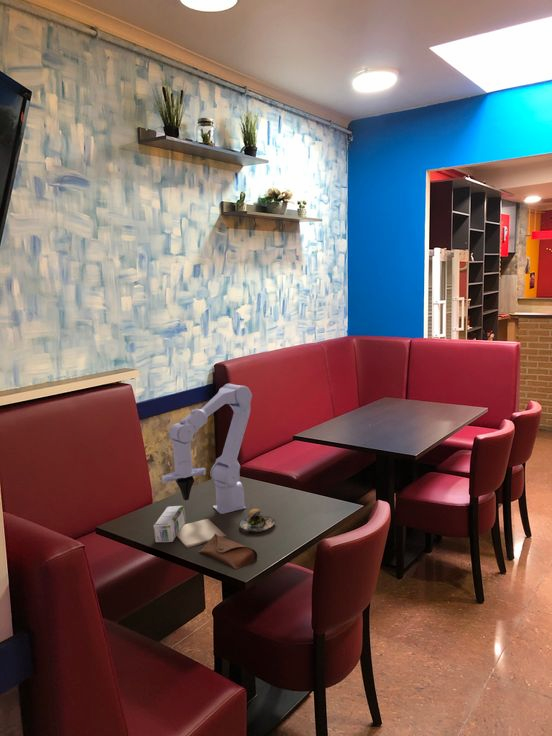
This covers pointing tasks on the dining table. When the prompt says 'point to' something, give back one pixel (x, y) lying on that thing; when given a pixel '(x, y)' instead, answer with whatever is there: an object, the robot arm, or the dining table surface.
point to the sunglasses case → (228, 552)
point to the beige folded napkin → (198, 533)
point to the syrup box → (169, 524)
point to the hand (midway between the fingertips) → (186, 499)
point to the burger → (255, 522)
